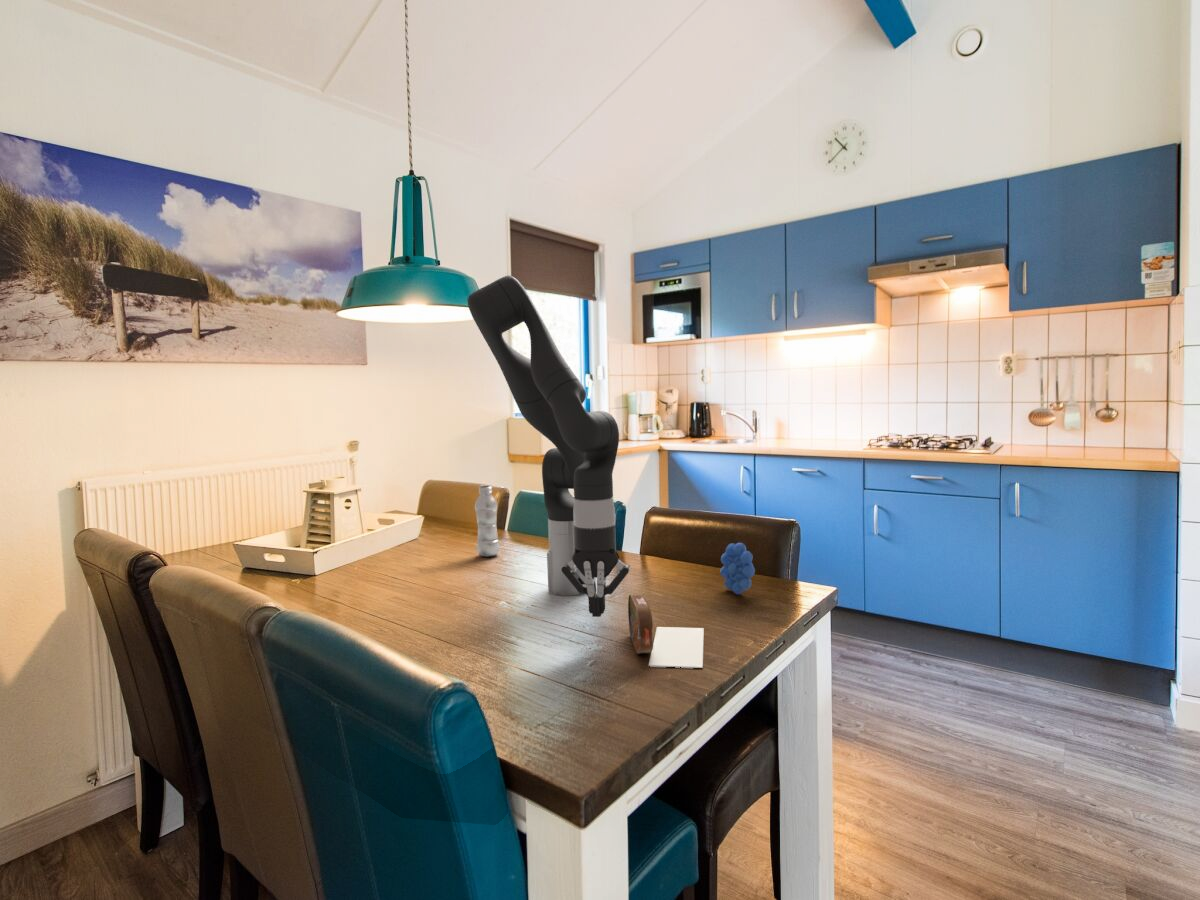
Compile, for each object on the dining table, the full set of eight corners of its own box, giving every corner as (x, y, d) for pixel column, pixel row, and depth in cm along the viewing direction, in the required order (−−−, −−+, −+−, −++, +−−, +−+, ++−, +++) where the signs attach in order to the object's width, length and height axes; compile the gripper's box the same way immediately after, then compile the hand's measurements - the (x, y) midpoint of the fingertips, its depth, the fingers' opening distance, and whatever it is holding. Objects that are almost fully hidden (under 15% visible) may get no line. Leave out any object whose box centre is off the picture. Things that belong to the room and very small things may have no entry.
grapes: (769, 598, 147) (769, 544, 146) (743, 603, 145) (742, 548, 144) (738, 584, 158) (738, 534, 157) (713, 588, 155) (713, 537, 154)
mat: (648, 666, 114) (648, 665, 114) (657, 628, 132) (656, 626, 132) (702, 668, 112) (702, 667, 112) (703, 629, 130) (703, 628, 130)
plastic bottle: (504, 553, 194) (501, 484, 192) (493, 559, 188) (489, 488, 186) (484, 552, 196) (481, 484, 194) (472, 558, 190) (469, 488, 188)
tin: (628, 631, 130) (624, 589, 130) (644, 629, 131) (640, 587, 130) (639, 662, 115) (635, 614, 115) (657, 659, 116) (653, 612, 115)
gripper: (553, 526, 120) (557, 621, 121) (628, 526, 117) (630, 623, 119) (563, 518, 127) (566, 607, 129) (633, 518, 125) (635, 609, 126)
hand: (597, 615), depth 124 cm, fingers closed
